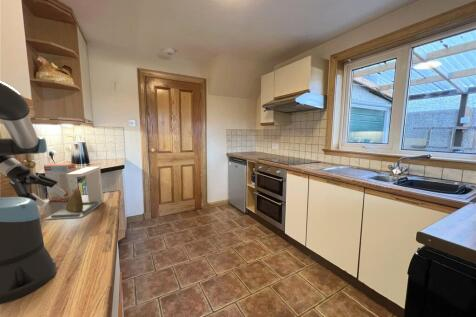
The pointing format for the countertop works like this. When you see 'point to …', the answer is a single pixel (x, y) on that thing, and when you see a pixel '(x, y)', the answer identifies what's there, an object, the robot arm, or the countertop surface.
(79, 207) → the rock
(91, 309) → the countertop surface
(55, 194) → the cracker box
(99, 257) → the countertop surface
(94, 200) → the shelf unit
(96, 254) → the countertop surface
